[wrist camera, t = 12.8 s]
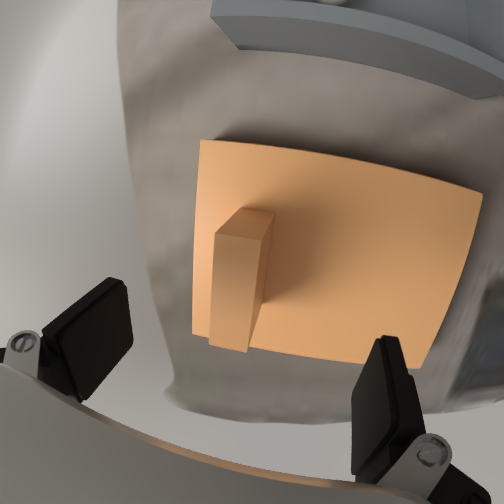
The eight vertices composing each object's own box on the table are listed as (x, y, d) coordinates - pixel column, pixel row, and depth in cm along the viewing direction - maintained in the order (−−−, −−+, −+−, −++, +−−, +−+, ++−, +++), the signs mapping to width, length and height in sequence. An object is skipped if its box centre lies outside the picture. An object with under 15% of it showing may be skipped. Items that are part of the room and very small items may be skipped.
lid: (467, 187, 16) (529, 214, 10) (412, 350, 21) (435, 416, 15) (213, 139, 19) (161, 141, 12) (202, 317, 23) (165, 378, 17)
